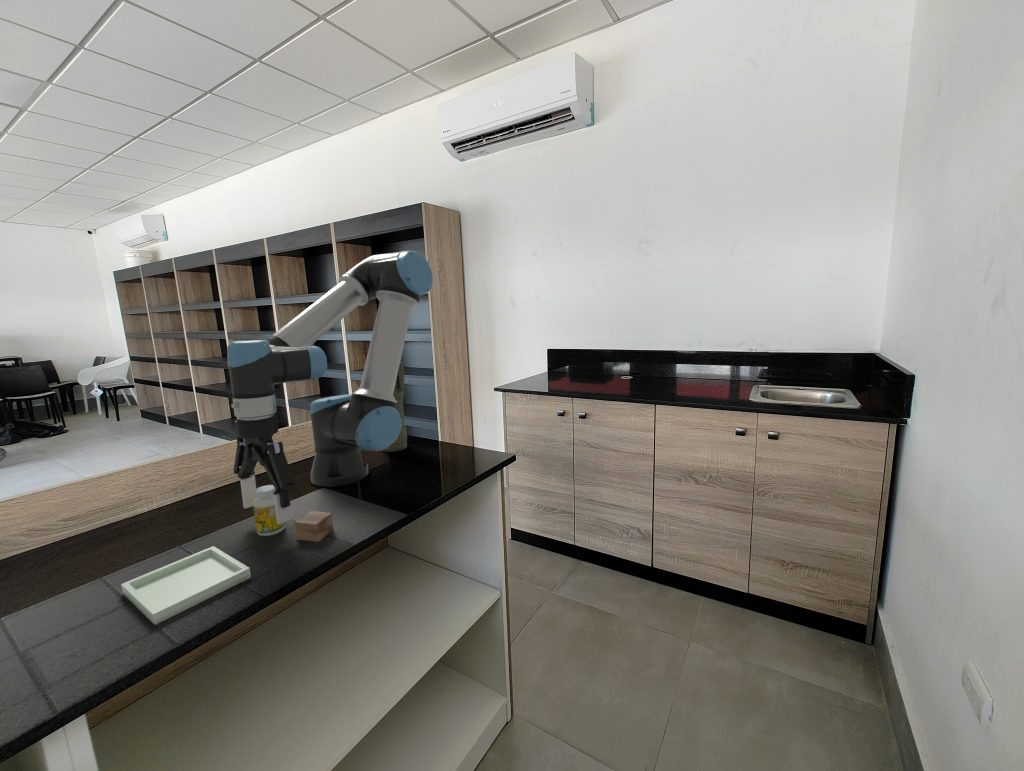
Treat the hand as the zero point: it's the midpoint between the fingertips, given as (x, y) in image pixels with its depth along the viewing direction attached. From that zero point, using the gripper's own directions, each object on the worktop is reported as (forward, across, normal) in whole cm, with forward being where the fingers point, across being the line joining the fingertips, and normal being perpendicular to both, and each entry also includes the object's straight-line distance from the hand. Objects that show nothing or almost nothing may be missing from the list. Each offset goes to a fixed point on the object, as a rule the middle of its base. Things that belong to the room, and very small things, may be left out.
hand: (267, 513), depth 93 cm
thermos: (+3, -21, +54) cm, 58 cm away
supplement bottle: (+4, 0, 0) cm, 4 cm away
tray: (+4, +7, -18) cm, 19 cm away
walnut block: (+4, +10, +4) cm, 12 cm away
